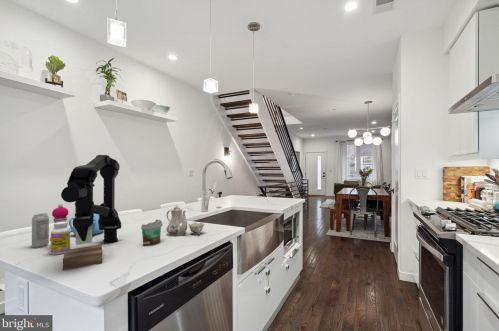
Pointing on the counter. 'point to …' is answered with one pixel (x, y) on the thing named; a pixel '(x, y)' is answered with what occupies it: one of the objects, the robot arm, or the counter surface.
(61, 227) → the supplement bottle
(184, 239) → the counter surface
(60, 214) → the pepper mill
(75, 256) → the walnut block
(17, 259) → the counter surface
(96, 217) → the teapot
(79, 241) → the sage cube
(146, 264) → the counter surface
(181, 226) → the chinaware
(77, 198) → the robot arm
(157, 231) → the food container
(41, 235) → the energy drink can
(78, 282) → the counter surface
